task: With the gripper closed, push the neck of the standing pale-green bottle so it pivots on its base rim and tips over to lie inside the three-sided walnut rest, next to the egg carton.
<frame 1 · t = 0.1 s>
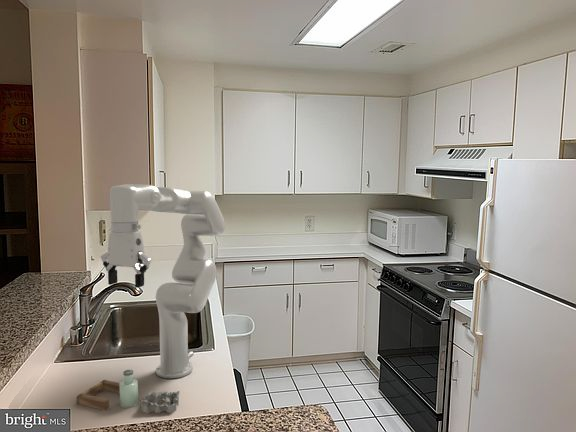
hand: (126, 285, 133), 37 cm above the counter, tool pointing down, fingers open, 9 cm apart
bottle: (129, 403, 137), on the counter
egg carton: (160, 408, 135), on the counter
rest: (105, 398, 140), on the counter
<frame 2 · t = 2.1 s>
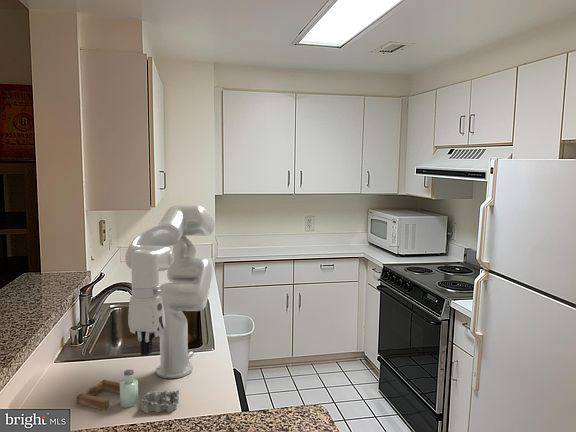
hand: (146, 353, 132), 17 cm above the counter, tool pointing down, fingers closed
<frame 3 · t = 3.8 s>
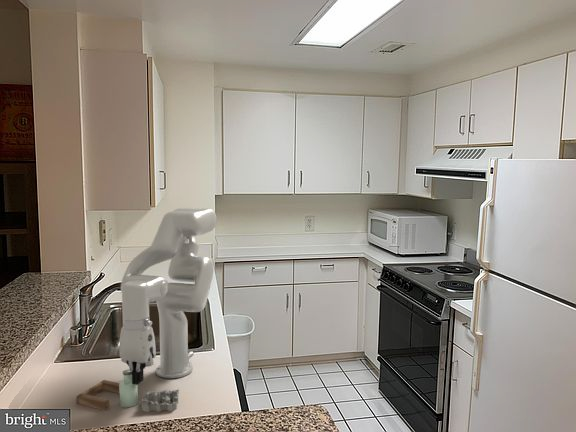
hand: (137, 382, 135), 7 cm above the counter, tool pointing down, fingers closed
bottle: (129, 403, 137), on the counter, touching gripper
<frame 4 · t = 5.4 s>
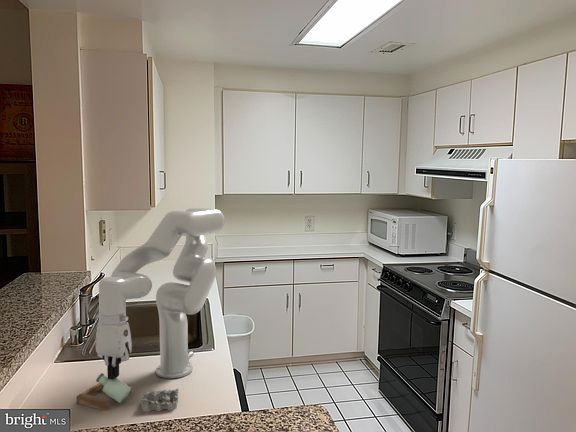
hand: (113, 377, 137), 8 cm above the counter, tool pointing down, fingers closed
bottle: (125, 395, 137), point 2 cm above the counter, tilted 61°, touching gripper
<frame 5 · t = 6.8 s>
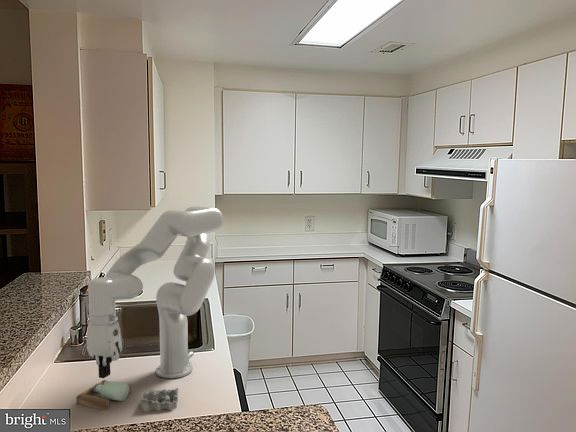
hand: (104, 376, 139), 7 cm above the counter, tool pointing down, fingers closed
bottle: (124, 391, 139), point 3 cm above the counter, tilted 90°
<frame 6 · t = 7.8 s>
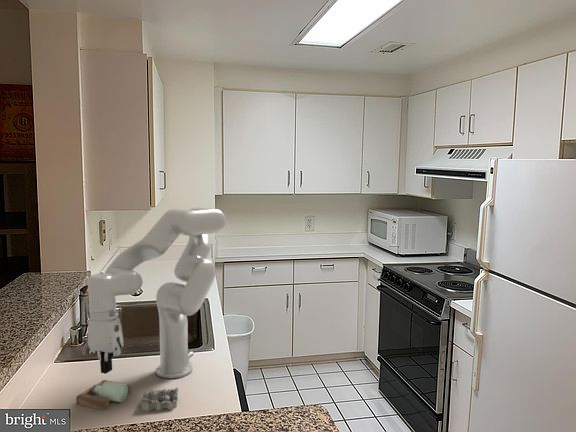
hand: (106, 371, 140), 8 cm above the counter, tool pointing down, fingers closed
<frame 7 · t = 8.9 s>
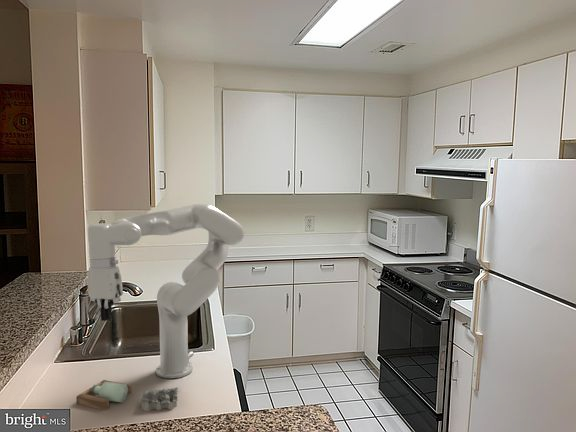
hand: (106, 319, 144), 23 cm above the counter, tool pointing down, fingers closed
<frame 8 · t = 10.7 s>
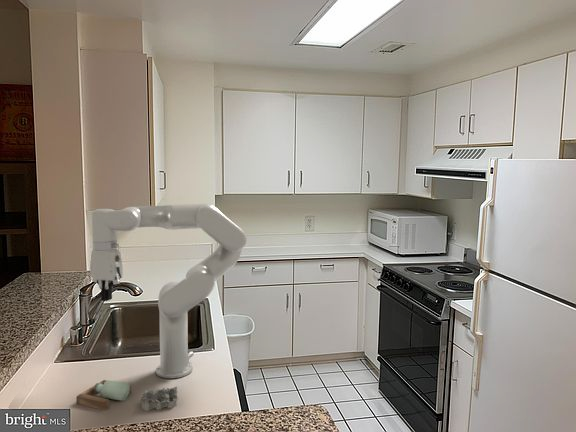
hand: (106, 299, 152), 27 cm above the counter, tool pointing down, fingers closed
bottle: (124, 391, 139), point 3 cm above the counter, tilted 90°
at the end: bottle tilted 90°; bottle inside the target area on the rest (1.7 cm from its centre), point 2.5 cm above the rest's base; bottle touching counter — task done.
